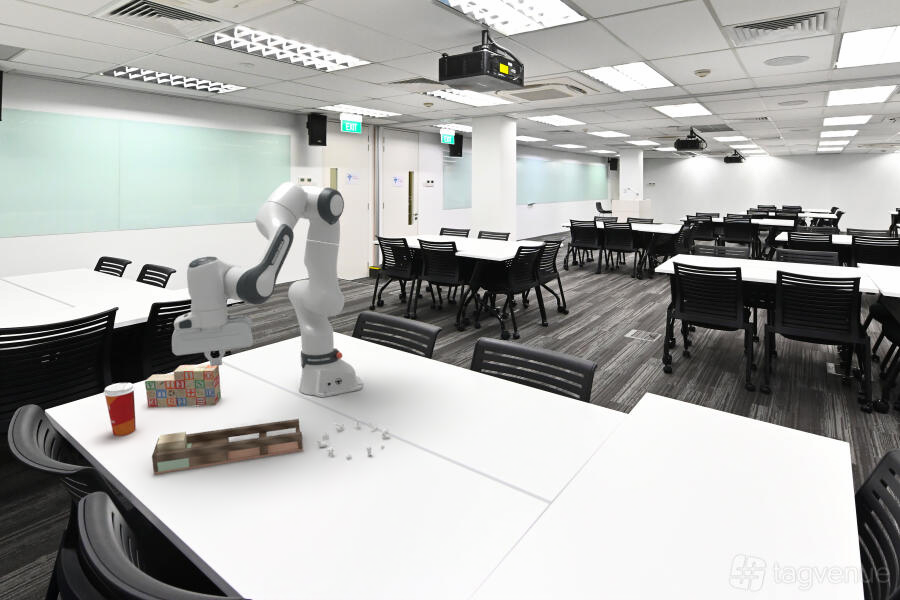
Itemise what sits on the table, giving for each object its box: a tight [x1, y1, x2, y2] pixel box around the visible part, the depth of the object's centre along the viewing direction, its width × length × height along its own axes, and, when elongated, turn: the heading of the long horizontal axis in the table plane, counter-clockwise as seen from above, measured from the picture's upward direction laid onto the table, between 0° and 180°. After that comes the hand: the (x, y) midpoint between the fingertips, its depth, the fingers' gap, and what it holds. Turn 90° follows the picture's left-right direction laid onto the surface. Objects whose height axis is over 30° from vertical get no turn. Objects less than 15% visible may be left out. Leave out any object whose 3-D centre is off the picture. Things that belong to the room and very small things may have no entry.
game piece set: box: [316, 418, 389, 460], centre depth 145 cm, size 19×20×4 cm
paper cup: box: [102, 382, 137, 437], centre depth 149 cm, size 8×8×14 cm
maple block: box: [156, 431, 187, 452], centre depth 133 cm, size 6×5×4 cm
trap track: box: [151, 418, 304, 475], centre depth 138 cm, size 36×10×5 cm, turn 111°
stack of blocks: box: [144, 363, 222, 408], centre depth 170 cm, size 21×6×12 cm, turn 97°
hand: (216, 365), depth 142 cm, fingers closed
